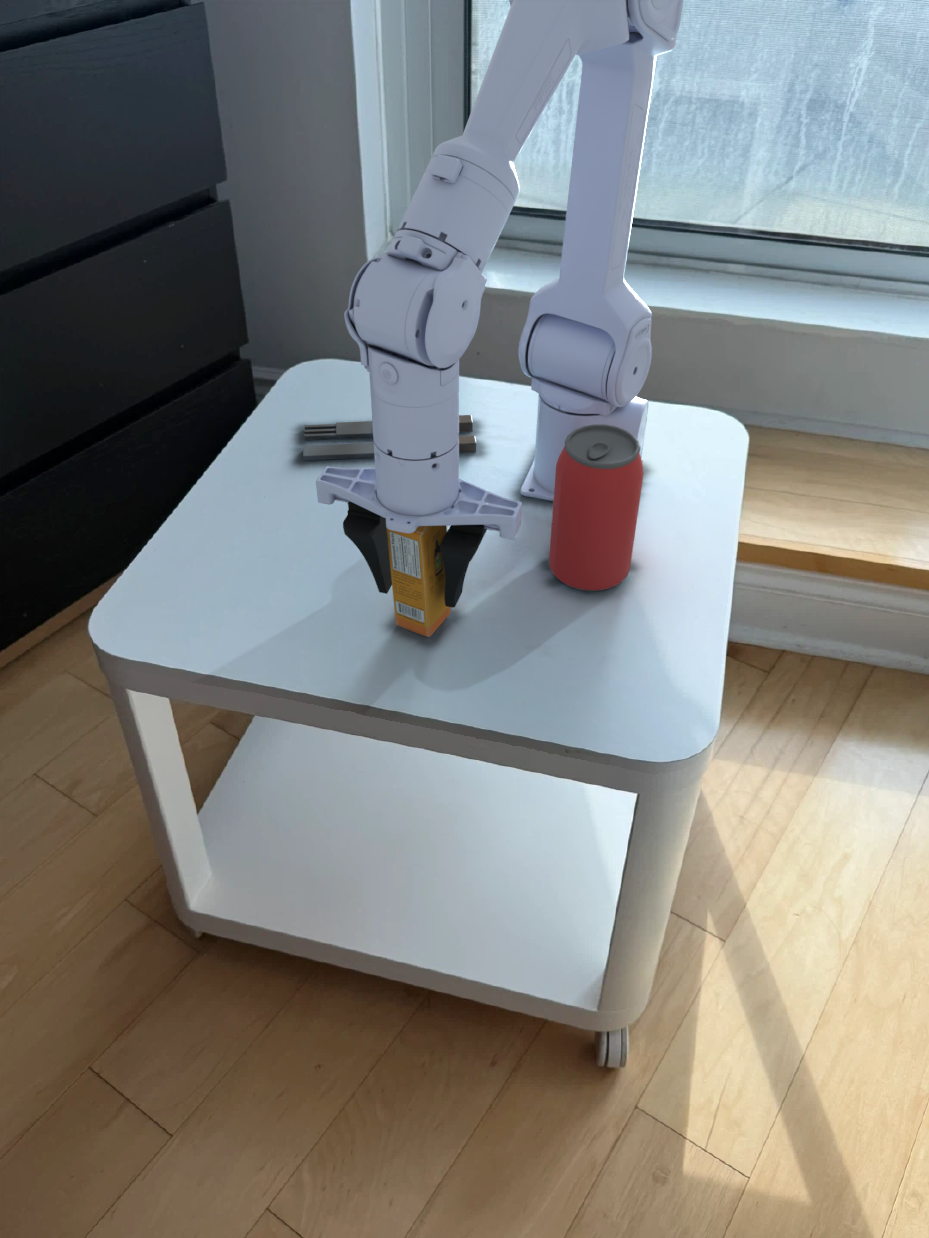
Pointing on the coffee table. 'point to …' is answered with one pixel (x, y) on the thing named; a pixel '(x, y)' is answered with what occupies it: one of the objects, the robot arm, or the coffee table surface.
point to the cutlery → (363, 431)
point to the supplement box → (418, 578)
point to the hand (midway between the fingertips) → (420, 591)
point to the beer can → (595, 507)
